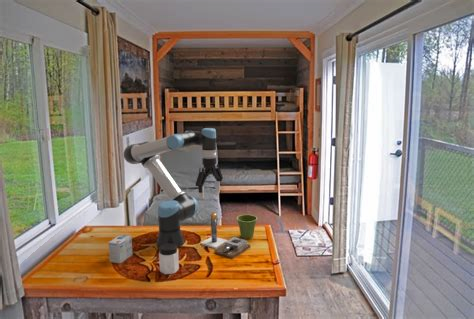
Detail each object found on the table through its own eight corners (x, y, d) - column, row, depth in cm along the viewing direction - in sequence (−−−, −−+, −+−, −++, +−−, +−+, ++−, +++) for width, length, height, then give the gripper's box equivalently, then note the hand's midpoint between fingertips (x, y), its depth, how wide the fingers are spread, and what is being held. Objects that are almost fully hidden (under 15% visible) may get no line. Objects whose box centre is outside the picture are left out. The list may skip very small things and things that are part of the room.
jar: (160, 275, 175) (158, 251, 173) (159, 267, 183) (158, 244, 181) (179, 273, 177) (178, 249, 175) (178, 265, 185) (177, 242, 183)
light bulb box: (122, 253, 200) (120, 234, 198) (133, 255, 198) (131, 235, 196) (109, 262, 190) (107, 241, 188) (120, 263, 188) (119, 243, 186)
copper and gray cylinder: (214, 243, 209) (213, 215, 206) (210, 241, 211) (209, 214, 208) (218, 241, 211) (217, 213, 208) (214, 239, 213) (213, 212, 210)
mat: (200, 244, 210) (200, 242, 209) (212, 237, 218) (212, 236, 218) (216, 248, 203) (215, 247, 203) (228, 241, 212) (228, 240, 212)
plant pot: (234, 239, 215) (234, 220, 213) (239, 232, 227) (239, 214, 225) (255, 241, 213) (255, 222, 211) (258, 233, 224) (258, 215, 222)
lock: (214, 252, 198) (214, 245, 198) (232, 242, 211) (232, 235, 210) (233, 258, 192) (232, 251, 191) (250, 247, 204) (250, 240, 204)
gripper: (199, 161, 191) (199, 202, 196) (228, 154, 211) (229, 191, 215) (188, 160, 196) (189, 199, 200) (218, 153, 216) (218, 189, 220)
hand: (209, 195), depth 208 cm, fingers open, 13 cm apart
